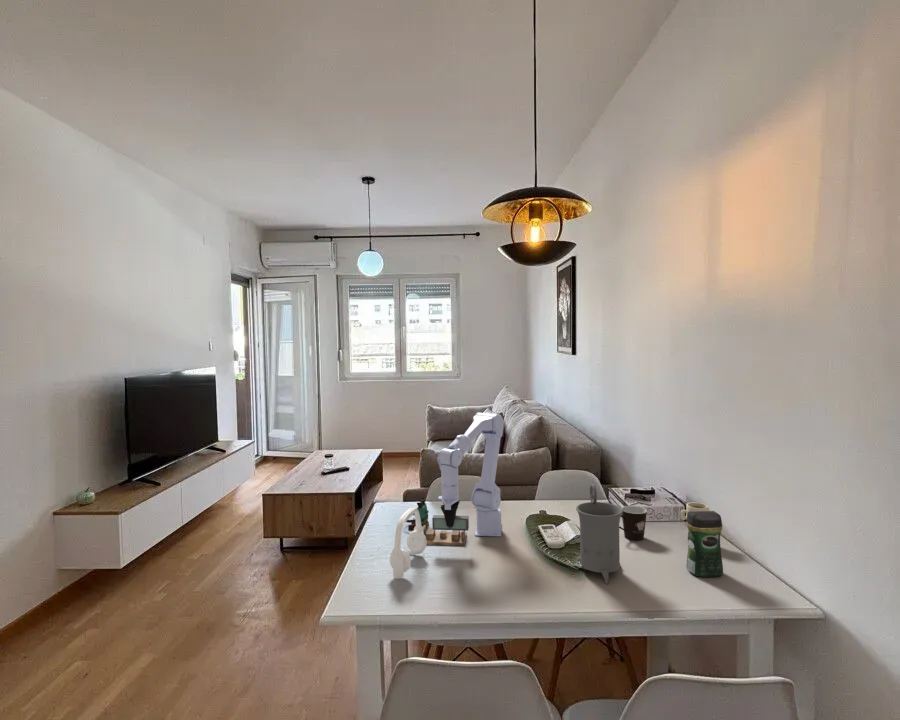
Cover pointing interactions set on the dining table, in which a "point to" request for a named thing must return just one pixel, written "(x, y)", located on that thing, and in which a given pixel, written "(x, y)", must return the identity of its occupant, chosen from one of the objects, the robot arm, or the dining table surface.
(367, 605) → the dining table surface
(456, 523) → the grey rectangular box
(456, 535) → the stand
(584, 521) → the gray footed pot
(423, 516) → the binoculars
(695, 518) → the coffee jar
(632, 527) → the coffee mug
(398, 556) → the headset
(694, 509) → the character mug
